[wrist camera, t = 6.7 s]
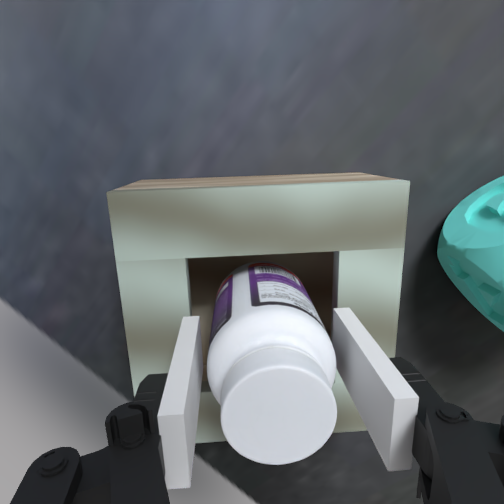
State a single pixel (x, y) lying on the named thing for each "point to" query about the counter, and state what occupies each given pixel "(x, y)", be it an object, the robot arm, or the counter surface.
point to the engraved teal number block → (477, 249)
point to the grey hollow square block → (256, 259)
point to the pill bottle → (271, 365)
